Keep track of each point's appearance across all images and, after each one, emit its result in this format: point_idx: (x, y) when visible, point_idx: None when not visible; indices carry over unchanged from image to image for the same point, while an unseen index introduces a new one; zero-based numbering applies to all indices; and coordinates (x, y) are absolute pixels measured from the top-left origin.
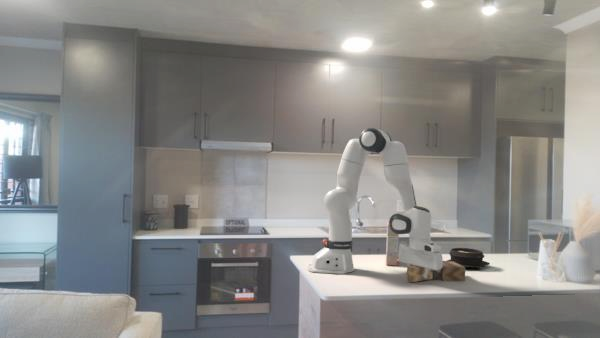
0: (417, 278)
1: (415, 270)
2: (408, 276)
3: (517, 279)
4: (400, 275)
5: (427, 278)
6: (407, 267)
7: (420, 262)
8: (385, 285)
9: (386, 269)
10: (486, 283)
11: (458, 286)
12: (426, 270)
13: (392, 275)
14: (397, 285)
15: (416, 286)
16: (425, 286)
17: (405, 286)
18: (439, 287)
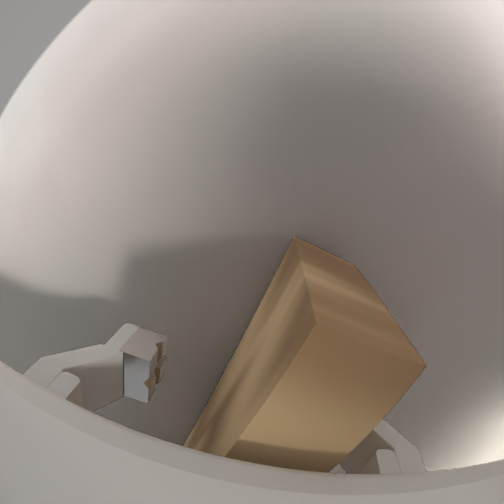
0: (245, 342)
1: (255, 382)
2: (348, 276)
3: None
4: (436, 422)
5: (193, 428)
6: (417, 356)
7: (87, 496)
8: (452, 6)
9: (501, 454)
10: None
11: (7, 363)
12: (56, 370)
13: (489, 381)
14: (380, 50)
15: (192, 141)
16: (120, 212)
17: (294, 58)
18: (38, 265)
